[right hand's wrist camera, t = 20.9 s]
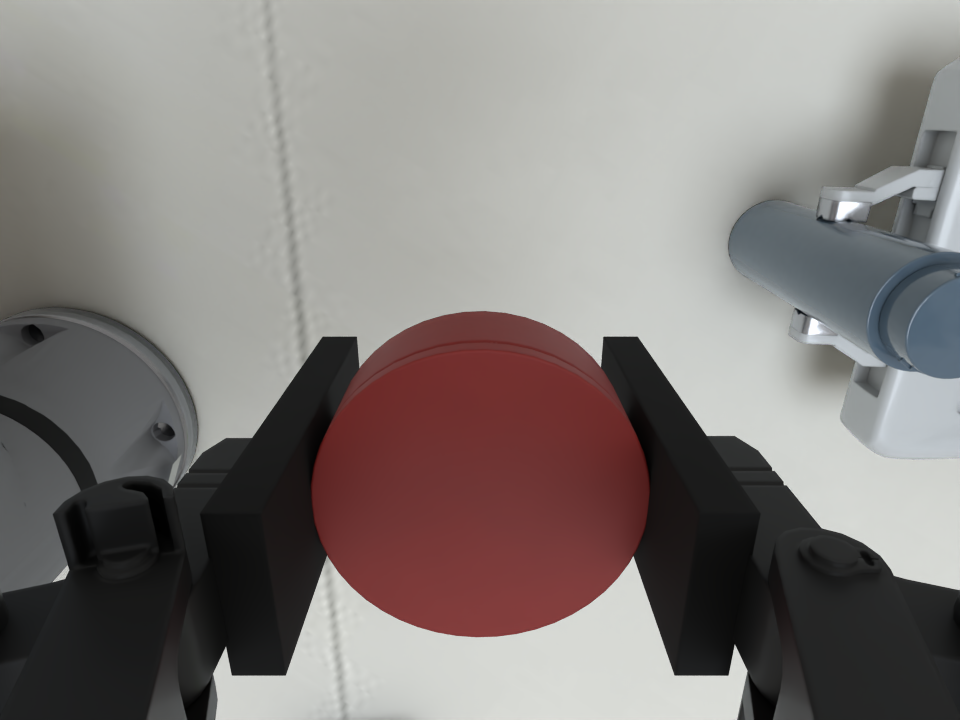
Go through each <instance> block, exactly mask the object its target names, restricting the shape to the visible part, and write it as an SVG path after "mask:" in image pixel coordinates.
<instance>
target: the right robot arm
mask: <svg viewBox="0 0 960 720" xmlns="http://www.w3.org/2000/svg"><path fill="white" fill-rule="evenodd" d="M601 369H602V370H603V371H604V372H605V374H606V376H607V377H608V379H609V381H610V382H611V384H612V386H613V387H614V390H615V392H616V394H617V396H618V398H619V400H620V402H621V404H622V406H623V408H624V410H625V412H626V414H627V416H628V419H629V421H630V423H631V425H632V427H633V429H634V431H635V433H636V435H637V437H638V440H639V442H640V445H641V447H642V449H643V452H644V454H645V458H646V462H647V467H648V471H649V478H650V494H649V503H648V512H647V520H646V527H645V531H644V533H643V536H642V538H641V541H640V543H639V546H638V548H637V550H636V552H635V553H634V555H633V556H634V559H635V562H636V564H637V567H638V570H639V573H640V576H641V579H642V582H643V585H644V588H645V591H646V594H647V596H648V599H649V602H650V605H651V608H652V611H653V614H654V617H655V620H656V623H657V626H658V628H659V631H660V634H661V637H662V640H663V643H664V646H665V649H666V652H667V655H668V657H669V660H670V663H671V666H672V669H673V672H674V675H720V676H728V675H729V670H730V665H731V660H732V655H733V650H734V645H736V647H737V649H738V651H739V653H740V656H741V658H742V660H743V662H744V664H745V666H746V668H747V670H748V672H747V676H746V681H745V686H744V690H743V695H742V700H741V704H740V709H739V714H738V718H737V720H960V590H955V589H950V588H946V587H941V586H936V585H931V584H926V583H921V582H917V581H912V580H907V579H903V578H899V577H896V576H894V575H893V573H892V571H891V569H890V568H889V567H888V565H887V564H886V563H885V561H884V560H883V559H882V558H881V556H880V555H878V554H877V553H876V552H874V551H873V550H872V549H870V548H869V547H867V546H866V545H865V544H863V543H861V542H859V541H857V540H855V539H852V538H850V537H848V536H846V535H844V534H841V533H837V532H833V531H829V530H825V529H822V528H821V527H820V526H819V525H818V523H817V522H816V521H815V520H814V519H813V517H812V516H811V515H810V514H809V512H808V511H807V510H806V509H805V508H804V506H803V505H802V504H801V503H800V501H799V500H798V499H797V498H796V497H795V495H794V494H793V493H792V492H791V490H790V489H789V488H788V487H787V486H784V484H783V481H782V479H781V478H780V477H779V476H778V475H777V473H776V472H775V471H772V467H771V466H770V465H769V464H768V462H767V461H766V460H765V459H764V457H763V456H762V455H761V454H760V453H759V451H758V450H756V449H754V448H753V447H751V446H750V445H748V444H746V443H745V442H743V441H742V440H740V439H738V438H737V437H735V436H706V434H705V433H704V431H703V430H702V429H701V427H700V426H699V424H698V423H697V421H696V420H695V419H694V417H693V416H692V414H691V413H690V411H689V410H688V408H687V407H686V406H685V404H684V403H683V401H682V400H681V398H680V397H679V396H678V394H677V393H676V391H675V390H674V388H673V387H672V385H671V384H670V383H669V381H668V380H667V378H666V377H665V375H664V374H663V373H662V371H661V370H660V368H659V367H658V365H657V364H656V362H655V361H654V360H653V358H652V357H651V355H650V354H649V352H648V351H647V350H646V348H645V347H644V345H643V344H642V342H641V341H640V340H639V338H638V337H603V350H602V363H601ZM358 370H359V358H358V345H357V337H322V339H321V340H320V342H319V343H318V344H317V346H316V347H315V349H314V350H313V352H312V353H311V354H310V356H309V357H308V359H307V360H306V362H305V363H304V364H303V366H302V367H301V369H300V370H299V372H298V373H297V375H296V376H295V377H294V379H293V380H292V382H291V383H290V385H289V386H288V387H287V389H286V390H285V392H284V393H283V395H282V396H281V398H280V399H279V400H278V402H277V403H276V405H275V406H274V408H273V409H272V410H271V412H270V413H269V415H268V416H267V418H266V419H265V421H264V422H263V423H262V425H261V426H260V428H259V429H258V431H257V432H256V433H255V435H254V436H253V438H226V439H224V440H222V441H221V442H219V443H218V444H216V445H214V446H213V447H211V448H210V449H208V450H206V451H205V452H203V453H202V454H201V456H200V457H199V458H198V459H197V461H196V462H195V463H194V464H193V465H192V467H191V468H190V469H189V473H186V472H187V470H188V468H189V466H190V464H191V462H192V460H193V457H194V454H195V450H196V445H197V435H198V431H197V419H196V413H195V409H194V405H193V402H192V399H191V397H190V394H189V392H188V390H187V388H186V386H185V384H184V382H183V380H182V379H181V377H180V375H179V374H178V372H177V371H176V370H175V368H174V367H173V366H172V364H171V363H170V362H169V361H168V360H167V359H166V357H165V356H164V355H163V354H162V353H161V352H160V351H159V350H158V349H157V348H156V347H154V346H153V345H152V344H151V343H150V342H148V341H147V340H146V339H145V338H143V337H142V336H140V335H139V334H138V333H136V332H134V331H133V330H131V329H129V328H128V327H126V326H124V325H122V324H120V323H118V322H116V321H114V320H112V319H109V318H107V317H104V316H102V315H98V314H95V313H92V312H88V311H83V310H79V309H72V308H58V307H51V308H39V309H33V310H28V311H25V312H21V313H18V314H16V315H13V316H11V317H8V318H6V319H4V320H2V321H0V720H215V717H216V709H217V693H216V686H215V681H214V676H213V672H214V670H215V668H216V666H217V664H218V662H219V660H220V658H221V655H222V653H223V651H224V649H225V647H226V648H227V653H228V658H229V663H230V668H231V673H232V675H286V673H287V670H288V667H289V664H290V662H291V659H292V656H293V653H294V650H295V647H296V644H297V641H298V638H299V635H300V632H301V630H302V627H303V624H304V621H305V618H306V615H307V612H308V609H309V606H310V603H311V600H312V598H313V595H314V592H315V589H316V586H317V583H318V580H319V577H320V574H321V571H322V568H323V566H324V563H325V560H326V557H327V553H326V551H325V549H324V547H323V545H322V543H321V541H320V539H319V536H318V532H317V529H316V526H315V523H314V516H313V508H312V499H311V480H312V473H313V466H314V463H315V459H316V456H317V453H318V450H319V447H320V444H321V442H322V440H323V438H324V436H325V434H326V432H327V430H328V428H329V426H330V424H331V421H332V419H333V417H334V415H335V413H336V411H337V409H338V407H339V405H340V403H341V401H342V398H343V396H344V394H345V392H346V390H347V388H348V386H349V384H350V382H351V380H352V379H353V377H354V376H355V374H356V373H357V371H358ZM185 473H186V474H185ZM183 476H184V477H183ZM182 477H183V478H182ZM178 482H179V483H178ZM176 485H177V488H174V487H175V486H176ZM173 488H174V489H173ZM67 565H68V567H69V572H68V574H67V577H66V579H64V580H60V581H57V582H53V581H54V580H55V578H56V577H57V576H58V575H59V574H60V573H61V572H62V570H63V569H64V568H65V567H66V566H67Z"/></svg>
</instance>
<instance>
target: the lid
mask: <svg viewBox="0 0 960 720" xmlns="http://www.w3.org/2000/svg"><path fill="white" fill-rule="evenodd" d="M649 494H650V478H649V471H648V467H647V462H646V458H645V454H644V452H643V449H642V447H641V445H640V442H639V440H638V437H637V435H636V433H635V431H634V429H633V427H632V425H631V423H630V421H629V419H628V416H627V414H626V412H625V410H624V408H623V406H622V404H621V402H620V400H619V398H618V396H617V394H616V392H615V390H614V387H613V386H612V384H611V382H610V381H609V379H608V377H607V376H606V374H605V372H604V371H603V370H602V369H601V367H600V366H599V365H598V364H597V362H596V361H595V360H594V359H593V358H592V357H591V356H590V355H589V354H588V353H587V352H586V351H585V350H584V349H583V348H582V347H581V346H579V345H578V344H577V343H576V342H574V341H573V340H571V339H570V338H568V337H567V336H565V335H564V334H563V333H561V332H559V331H557V330H555V329H553V328H551V327H549V326H547V325H545V324H543V323H540V322H537V321H534V320H531V319H528V318H526V317H521V316H517V315H512V314H507V313H499V312H488V311H477V312H461V313H455V314H449V315H443V316H440V317H436V318H433V319H430V320H426V321H423V322H421V323H419V324H417V325H414V326H412V327H410V328H408V329H406V330H404V331H402V332H401V333H399V334H397V335H396V336H394V337H393V338H391V339H389V340H388V341H387V342H386V343H384V344H383V345H382V346H381V347H379V348H378V349H377V350H376V351H375V352H374V353H373V354H372V355H371V356H370V357H369V358H368V359H367V360H366V361H365V362H364V363H363V365H362V366H361V367H360V369H359V370H358V371H357V373H356V374H355V376H354V377H353V379H352V380H351V382H350V384H349V386H348V388H347V390H346V392H345V394H344V396H343V398H342V401H341V403H340V405H339V407H338V409H337V411H336V413H335V415H334V417H333V419H332V421H331V424H330V426H329V428H328V430H327V432H326V434H325V436H324V438H323V440H322V442H321V444H320V447H319V450H318V453H317V456H316V459H315V463H314V466H313V473H312V480H311V499H312V508H313V516H314V523H315V526H316V529H317V532H318V536H319V539H320V541H321V543H322V545H323V547H324V549H325V551H326V553H327V555H328V557H329V559H330V560H331V562H332V563H333V565H334V566H335V568H336V569H337V571H338V572H339V573H340V575H341V576H342V577H343V578H344V579H345V580H346V581H347V582H348V584H349V585H350V586H351V587H352V588H353V589H354V590H356V591H357V592H358V593H359V594H360V595H361V596H362V597H364V598H365V599H366V600H367V601H369V602H370V603H372V604H373V605H375V606H376V607H378V608H379V609H381V610H382V611H384V612H386V613H388V614H390V615H391V616H393V617H395V618H397V619H399V620H401V621H404V622H406V623H409V624H411V625H414V626H417V627H420V628H423V629H427V630H430V631H434V632H438V633H444V634H450V635H455V636H468V637H497V636H504V635H512V634H518V633H522V632H527V631H531V630H535V629H538V628H541V627H544V626H547V625H550V624H553V623H555V622H557V621H559V620H561V619H564V618H566V617H568V616H570V615H572V614H574V613H575V612H577V611H579V610H580V609H582V608H583V607H585V606H587V605H588V604H590V603H591V602H592V601H593V600H595V599H596V598H597V597H599V596H600V595H601V594H602V593H604V592H605V591H606V590H607V589H608V588H609V587H610V586H611V585H612V584H613V583H614V581H615V580H616V579H617V578H618V577H619V576H620V574H621V573H622V572H623V571H624V569H625V568H626V567H627V565H628V564H629V562H630V561H631V559H632V557H633V555H634V553H635V552H636V550H637V548H638V546H639V543H640V541H641V538H642V536H643V533H644V531H645V527H646V520H647V512H648V503H649Z"/></svg>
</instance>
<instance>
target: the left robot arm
mask: <svg viewBox="0 0 960 720" xmlns="http://www.w3.org/2000/svg"><path fill="white" fill-rule="evenodd" d="M892 196H898V197H901V199H900V202H899V206H898V210H897V213H896V217H895V220H894V224H893V228H892V231H891V232H892V233H895V234H899V235H902V236H906V237H909V238H912V239H916V240H919V241H922V242H926V243H929V244H933V245H936V246H939V247H943V248H946V249H950V250H953V251H956V252H960V57H959V58H957V59H956V60H954V61H953V62H951V63H950V64H948V65H947V66H945V67H944V68H942V69H941V70H940V71H938V73H937V74H936V76H935V78H934V81H933V84H932V87H931V91H930V95H929V98H928V102H927V105H926V109H925V113H924V116H923V120H922V123H921V127H920V131H919V134H918V138H917V141H916V145H915V149H914V152H913V156H912V159H911V163H910V166H890V167H888V168H886V169H885V170H883V171H881V172H879V173H877V174H875V175H873V176H871V177H869V178H867V179H865V180H863V181H861V182H860V183H858V184H856V185H855V186H854V187H822V190H821V195H820V199H819V203H818V208H817V212H816V217H818V218H823V219H825V220H829V221H846V220H849V221H853V222H866V221H867V218H868V215H869V211H870V208H871V205H875V204H877V203H879V202H881V201H883V200H886V199H888V198H890V197H892ZM788 335H790V336H791V337H792V338H794V339H795V340H797V341H798V342H802V343H806V344H826V345H832V346H833V347H835V348H836V349H838V350H839V351H841V352H842V353H844V354H845V355H847V356H848V357H850V358H851V359H853V360H854V361H855V364H854V368H853V371H852V375H851V379H850V382H849V386H848V389H847V393H846V396H845V400H844V404H843V407H842V410H841V414H840V419H841V422H842V423H843V425H844V426H845V427H846V428H847V429H848V430H849V431H850V433H851V434H852V435H853V436H854V437H855V438H856V439H858V440H859V441H860V442H861V443H862V444H863V445H865V446H866V447H867V448H868V449H870V450H871V451H873V452H874V453H876V454H878V455H880V456H883V457H887V458H894V459H953V458H960V378H955V379H940V378H934V377H930V376H928V375H925V374H922V373H919V372H908V371H901V370H898V369H894V368H892V367H890V366H888V365H886V364H885V363H883V362H881V361H880V360H878V359H877V358H875V357H873V356H872V355H870V354H869V353H867V352H865V351H864V350H862V349H861V348H859V347H857V346H856V345H854V344H853V343H851V342H849V341H848V340H846V339H845V338H843V337H842V336H840V335H838V334H837V333H835V332H834V331H832V330H830V329H829V328H827V327H826V326H824V325H822V324H821V323H819V322H818V321H816V320H814V319H813V318H811V317H810V316H808V315H806V314H805V313H803V312H802V311H800V310H798V309H797V308H794V312H793V316H792V320H791V324H790V328H789V332H788Z"/></svg>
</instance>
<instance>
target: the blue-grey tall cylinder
mask: <svg viewBox="0 0 960 720" xmlns="http://www.w3.org/2000/svg"><path fill="white" fill-rule="evenodd" d="M816 212H817V210H814V209H811V208H808V207H804V206H801V205H797V204H794V203H791V202H787V201H783V200H770V201H765V202H762V203H759V204H757V205H755V206H753V207H752V208H750V209H749V210H747V211H746V212H745V213H744V214H743V215H742V216H741V217H740V218H739V220H738V221H737V222H736V224H735V226H734V228H733V230H732V232H731V235H730V239H729V255H730V259H731V261H732V263H733V265H734V266H735V268H736V269H737V270H738V271H739V272H740V273H741V274H742V275H744V276H746V277H747V278H749V279H750V280H752V281H754V282H755V283H757V284H758V285H760V286H762V287H763V288H765V289H766V290H768V291H770V292H771V293H773V294H774V295H776V296H778V297H779V298H781V299H782V300H784V301H786V302H787V303H789V304H790V305H792V306H794V307H795V308H797V309H798V310H800V311H802V312H803V313H805V314H806V315H808V316H810V317H811V318H813V319H814V320H816V321H818V322H819V323H821V324H822V325H824V326H826V327H827V328H829V329H830V330H832V331H834V332H835V333H837V334H838V335H840V336H842V337H843V338H845V339H846V340H848V341H849V342H851V343H853V344H854V345H856V346H857V347H859V348H861V349H862V350H864V351H865V352H867V353H869V354H870V355H872V356H873V357H875V358H877V359H878V360H880V361H881V362H883V363H885V364H886V365H888V366H890V367H892V368H894V369H898V370H901V371H908V372H919V373H922V374H925V375H928V376H930V377H934V378H940V379H955V378H960V252H956V251H953V250H950V249H946V248H943V247H939V246H936V245H933V244H929V243H926V242H922V241H919V240H916V239H912V238H909V237H906V236H902V235H899V234H895V233H892V232H889V231H885V230H882V229H879V228H875V227H872V226H868V225H865V224H862V223H858V222H853V221H849V220H846V221H829V220H825V219H823V218H818V217H816Z"/></svg>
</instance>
